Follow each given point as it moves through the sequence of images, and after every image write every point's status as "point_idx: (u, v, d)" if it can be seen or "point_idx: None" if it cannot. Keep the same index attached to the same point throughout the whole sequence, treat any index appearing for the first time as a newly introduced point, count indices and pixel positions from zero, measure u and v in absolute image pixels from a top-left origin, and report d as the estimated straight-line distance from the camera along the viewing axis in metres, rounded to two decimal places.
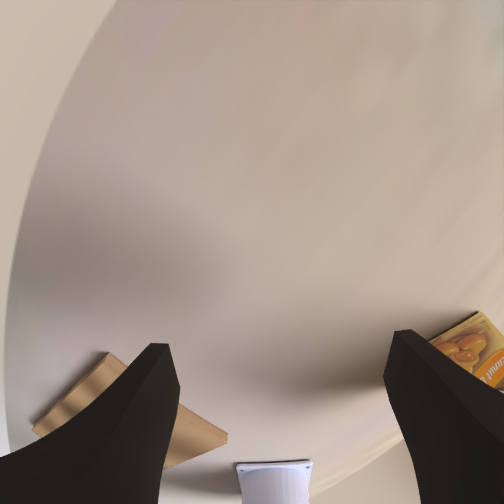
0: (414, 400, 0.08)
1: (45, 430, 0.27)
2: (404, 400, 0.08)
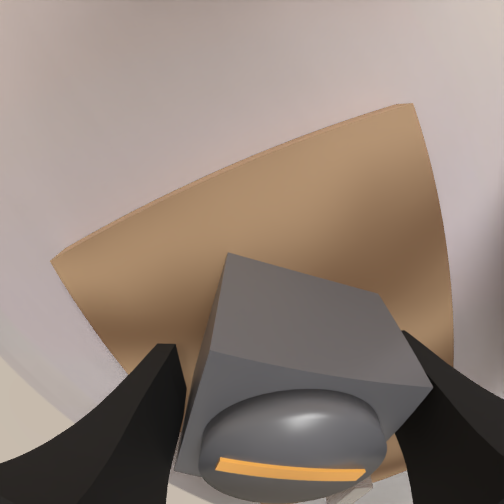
0: None
1: None
2: None
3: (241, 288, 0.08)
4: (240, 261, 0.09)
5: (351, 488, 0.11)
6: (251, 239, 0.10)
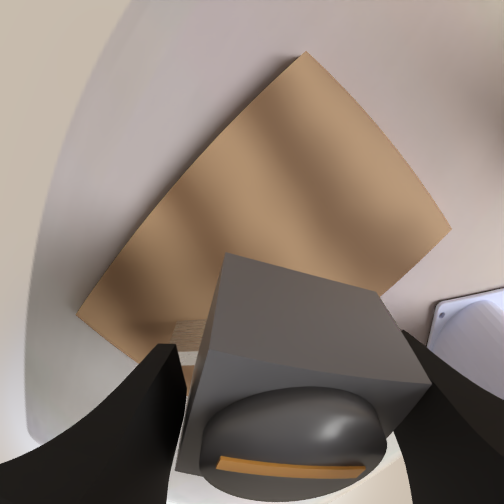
0: None
1: (107, 302, 0.19)
2: None
3: (239, 287, 0.08)
4: (238, 261, 0.09)
5: None
6: (371, 177, 0.16)
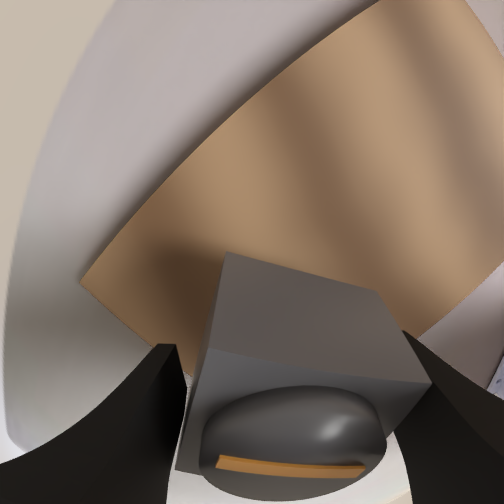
0: None
1: (132, 262, 0.12)
2: None
3: (239, 286, 0.08)
4: (238, 260, 0.09)
5: None
6: (502, 119, 0.10)
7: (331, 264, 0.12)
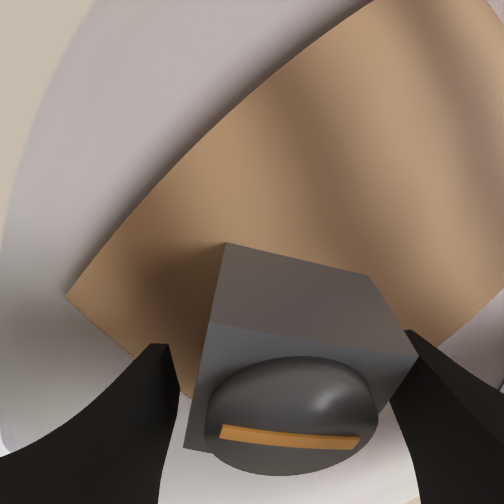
0: (414, 400, 0.08)
1: (120, 277, 0.11)
2: (404, 400, 0.08)
3: (238, 271, 0.09)
4: (237, 249, 0.10)
5: None
6: None
7: None
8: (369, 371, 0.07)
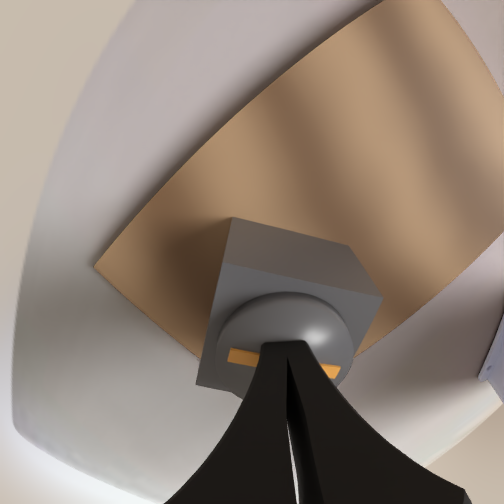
0: (293, 417, 0.08)
1: (144, 247, 0.14)
2: (290, 415, 0.08)
3: (243, 235, 0.12)
4: (242, 221, 0.13)
5: None
6: (481, 116, 0.11)
7: None
8: (344, 308, 0.10)
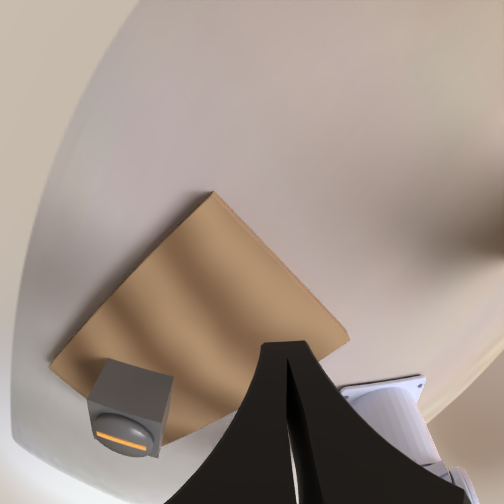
0: (293, 417, 0.08)
1: (70, 363, 0.22)
2: (290, 415, 0.08)
3: (105, 376, 0.20)
4: (111, 362, 0.21)
5: None
6: (267, 303, 0.19)
7: None
8: (143, 423, 0.18)
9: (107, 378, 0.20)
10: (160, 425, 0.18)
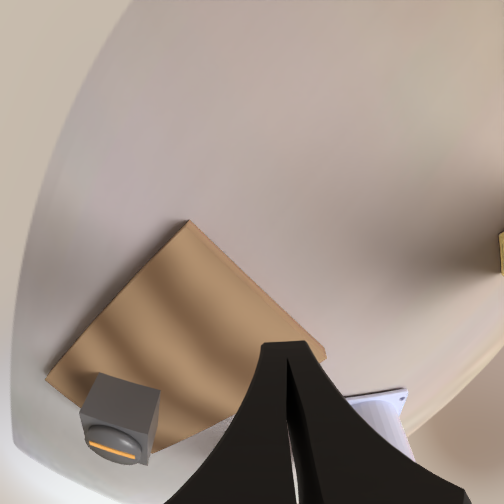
0: (293, 417, 0.08)
1: (65, 376, 0.23)
2: (290, 415, 0.08)
3: (96, 390, 0.21)
4: (102, 377, 0.22)
5: None
6: (244, 325, 0.20)
7: None
8: (131, 434, 0.19)
9: (98, 392, 0.20)
10: (147, 436, 0.19)
